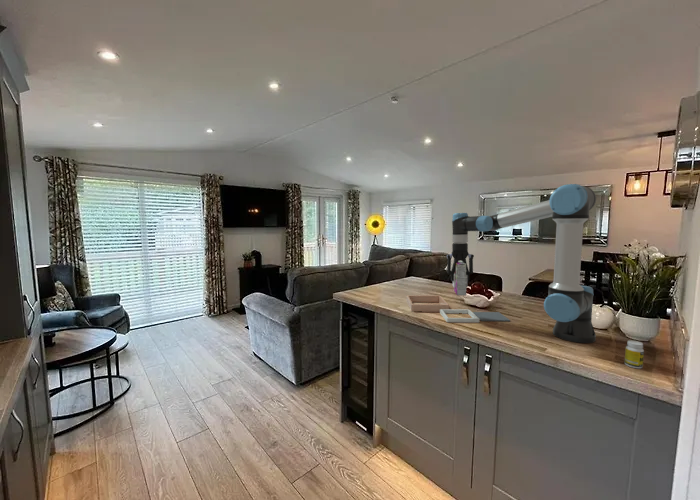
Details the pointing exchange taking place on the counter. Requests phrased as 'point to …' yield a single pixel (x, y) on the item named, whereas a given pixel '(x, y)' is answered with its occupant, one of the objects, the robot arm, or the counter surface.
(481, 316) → the mat
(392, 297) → the counter surface
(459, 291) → the candy bar box
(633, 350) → the supplement bottle
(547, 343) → the counter surface
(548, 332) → the counter surface
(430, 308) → the pinkish tan tray
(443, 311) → the grey square frame
